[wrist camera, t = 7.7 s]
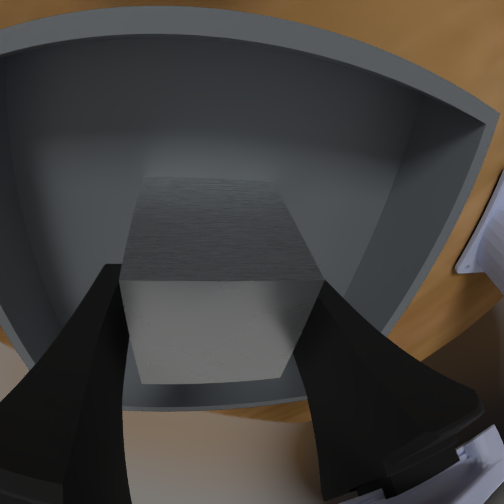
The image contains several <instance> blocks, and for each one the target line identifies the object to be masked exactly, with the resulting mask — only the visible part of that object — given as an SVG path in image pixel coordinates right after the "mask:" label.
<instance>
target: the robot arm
mask: <svg viewBox="0 0 504 504" xmlns="http://www.w3.org/2000/svg"><path fill="white" fill-rule="evenodd" d="M121 267H122V264H105V265H104V266H103V268H102V269H101V271H100V273H99V274H98V276H97V277H96V279H95V281H94V282H93V284H92V285H91V287H90V289H89V290H88V292H87V293H86V295H85V296H84V298H83V299H82V301H81V302H80V304H79V305H78V307H77V309H76V310H75V312H74V313H73V315H72V316H71V317H70V319H69V320H68V322H67V323H66V324H65V326H64V327H63V329H62V330H61V332H60V333H59V334H58V336H57V337H56V339H55V340H54V341H53V343H52V344H51V345H50V346H49V348H48V349H47V350H46V352H45V353H44V354H43V355H42V357H41V358H40V359H39V360H38V362H37V363H36V364H35V365H34V366H33V367H32V369H31V370H30V371H29V372H28V373H27V375H26V376H25V377H24V378H23V379H22V380H21V381H20V382H19V383H18V385H17V386H16V387H15V388H14V389H13V390H12V391H11V392H10V393H9V394H8V395H7V396H6V397H5V398H4V399H3V400H2V401H1V402H0V504H132V502H131V497H130V491H129V485H128V478H127V471H126V462H125V452H124V442H123V441H124V440H123V421H122V397H123V385H124V376H125V368H126V360H127V352H128V344H129V337H130V335H129V331H128V326H127V321H126V316H125V311H124V306H123V301H122V295H121V290H120V284H119V277H120V272H121ZM455 271H456V272H457V273H458V274H462V273H479V272H485V273H486V274H487V276H488V277H489V278H490V279H491V280H492V282H493V283H494V284H495V285H496V287H497V288H498V289H499V290H500V292H501V293H502V294H503V296H504V170H503V172H502V174H501V177H500V179H499V181H498V184H497V186H496V188H495V190H494V193H493V195H492V197H491V199H490V201H489V204H488V206H487V208H486V210H485V212H484V214H483V216H482V218H481V220H480V222H479V224H478V226H477V228H476V230H475V232H474V233H473V235H472V237H471V239H470V241H469V243H468V244H467V246H466V248H465V250H464V252H463V253H462V255H461V257H460V258H459V260H458V262H457V264H456V265H455ZM292 353H293V355H294V358H295V361H296V364H297V367H298V370H299V373H300V376H301V379H302V381H303V384H304V388H305V391H306V395H307V399H308V403H309V408H310V413H311V417H312V423H313V428H314V433H315V439H316V446H317V453H318V460H319V470H320V481H321V493H322V496H323V500H324V501H328V500H331V499H334V498H338V497H341V496H344V495H346V494H350V493H353V492H355V491H357V492H358V495H359V497H357V498H354V499H351V500H348V501H345V502H342V503H339V504H484V502H485V501H486V500H487V499H488V498H489V496H490V495H491V494H492V493H493V492H494V491H495V490H496V488H498V487H499V485H500V484H501V483H502V482H503V481H504V445H503V442H502V441H501V438H500V436H499V433H498V431H497V429H496V427H495V425H492V426H490V427H489V428H487V429H486V430H485V431H483V432H482V433H480V434H479V435H477V436H476V437H474V438H473V439H471V440H470V441H468V442H467V443H465V444H463V445H461V446H460V447H458V448H456V449H455V447H454V445H453V444H455V443H457V441H458V439H457V437H456V435H455V434H456V433H457V432H459V431H460V430H462V429H463V428H465V427H466V426H467V425H469V424H470V423H471V422H473V421H474V420H476V419H477V418H478V417H479V416H481V415H482V414H483V413H484V407H483V406H482V403H481V401H480V399H479V397H478V395H477V393H476V392H475V390H473V389H471V388H469V387H467V386H464V385H462V384H460V383H458V382H456V381H453V380H451V379H449V378H447V377H445V376H444V375H442V374H440V373H438V372H436V371H435V370H433V369H431V368H429V367H428V366H426V365H424V364H423V363H421V362H420V361H418V360H417V359H415V358H414V357H412V356H411V355H409V354H408V353H406V352H405V351H404V350H402V349H401V348H399V347H398V346H397V345H396V344H394V343H393V342H392V341H390V340H389V339H388V338H387V337H385V336H384V335H383V334H382V333H380V332H379V331H378V330H377V329H376V328H375V327H374V326H372V325H371V324H370V323H369V322H368V321H367V320H366V319H365V318H364V317H362V316H361V315H360V314H359V313H358V312H357V311H356V310H355V309H354V308H353V307H352V306H351V305H350V304H349V303H348V302H347V301H346V300H345V299H344V298H343V297H342V296H341V295H340V294H339V293H338V292H337V291H336V290H335V289H334V288H333V287H332V286H331V285H330V284H329V283H328V282H327V281H326V280H325V279H324V283H323V285H322V287H321V290H320V292H319V295H318V297H317V299H316V301H315V304H314V306H313V308H312V311H311V313H310V315H309V317H308V320H307V322H306V324H305V326H304V328H303V331H302V333H301V335H300V337H299V339H298V342H297V344H296V346H295V348H294V350H293V352H292Z"/></svg>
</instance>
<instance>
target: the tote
mask: <svg viewBox="0 0 504 504" xmlns="http://www.w3.org/2000/svg"><path fill="white" fill-rule="evenodd" d="M499 115H500V113H498V112H497V111H496V110H494V109H493V108H491V107H490V106H488V105H487V104H485V103H484V102H482V101H481V100H479V99H478V98H476V97H474V96H473V95H471V94H470V93H468V92H466V91H465V90H463V89H461V88H459V87H458V86H456V85H454V84H453V83H451V82H449V81H447V80H445V79H444V78H442V77H440V76H438V75H436V74H434V73H432V72H430V71H428V70H426V69H424V68H422V67H420V66H418V65H416V64H414V63H412V62H410V61H407V60H405V59H403V58H401V57H399V56H396V55H394V54H392V53H389V52H387V51H384V50H382V49H379V48H377V47H374V46H372V45H369V44H366V43H364V42H361V41H358V40H355V39H352V38H349V37H346V36H343V35H340V34H337V33H334V32H330V31H327V30H324V29H320V28H317V27H313V26H309V25H305V24H301V23H297V22H293V21H289V20H284V19H279V18H274V17H269V16H264V15H258V14H252V13H246V12H239V11H232V10H223V9H214V8H202V7H186V6H131V7H115V8H104V9H95V10H87V11H79V12H73V13H67V14H61V15H56V16H51V17H46V18H41V19H37V20H33V21H29V22H25V23H21V24H18V25H14V26H11V27H7V28H4V29H1V30H0V325H1V327H2V329H3V330H4V332H5V334H6V335H7V337H8V339H9V340H10V342H11V343H12V345H13V347H14V348H15V350H16V351H17V353H18V354H19V356H20V357H21V359H22V360H23V362H24V363H25V364H26V366H27V367H28V369H29V370H31V369H32V367H33V366H34V365H35V364H36V363H37V362H38V360H39V359H40V358H41V357H42V355H43V354H44V353H45V352H46V350H47V349H48V348H49V346H50V345H51V344H52V343H53V341H54V340H55V339H56V337H57V336H58V334H59V333H60V332H61V330H62V329H63V327H64V326H65V324H66V323H67V322H68V320H69V319H70V317H71V316H72V315H73V313H74V312H75V310H76V309H77V307H78V305H79V304H80V302H81V301H82V299H83V298H84V296H85V295H86V293H87V292H88V290H89V289H90V287H91V285H92V284H93V282H94V281H95V279H96V277H97V276H98V274H99V273H100V271H101V269H102V268H103V266H104V265H105V264H122V262H123V257H124V252H125V247H126V243H127V238H128V234H129V230H130V225H131V221H132V217H133V213H134V209H135V205H136V202H137V198H138V194H139V190H140V187H141V183H142V180H143V176H159V177H194V178H216V179H234V180H249V181H263V182H273V183H274V185H275V187H276V188H277V190H278V192H279V194H280V196H281V198H282V199H283V201H284V203H285V205H286V207H287V209H288V210H289V212H290V214H291V216H292V218H293V220H294V222H295V223H296V225H297V227H298V229H299V231H300V233H301V235H302V237H303V239H304V240H305V242H306V244H307V246H308V248H309V250H310V252H311V254H312V256H313V258H314V260H315V262H316V264H317V266H318V268H319V270H320V272H321V274H322V276H323V278H324V279H325V280H326V281H327V282H328V283H329V284H330V285H331V286H332V287H333V288H334V289H335V290H336V291H337V292H338V293H339V294H340V295H341V296H342V297H343V298H344V299H345V300H346V301H347V302H348V303H349V304H350V305H351V306H352V307H353V308H354V309H355V310H356V311H357V312H358V313H359V314H360V315H361V316H362V317H364V318H365V319H366V320H367V321H368V322H369V323H370V324H371V325H372V326H374V327H375V328H376V329H377V330H378V331H379V332H380V333H382V334H383V335H384V336H385V337H387V336H388V334H389V333H390V332H391V330H392V329H393V327H394V326H395V324H396V323H397V322H398V320H399V319H400V317H401V316H402V314H403V313H404V311H405V310H406V308H407V307H408V305H409V304H410V302H411V301H412V299H413V298H414V296H415V294H416V293H417V291H418V290H419V288H420V286H421V285H422V283H423V282H424V280H425V278H426V277H427V275H428V273H429V272H430V270H431V268H432V266H433V265H434V263H435V261H436V259H437V258H438V256H439V254H440V252H441V250H442V249H443V247H444V245H445V243H446V241H447V239H448V237H449V236H450V234H451V232H452V230H453V228H454V226H455V224H456V222H457V220H458V218H459V216H460V214H461V212H462V210H463V207H464V205H465V203H466V201H467V199H468V197H469V194H470V192H471V190H472V188H473V185H474V183H475V181H476V178H477V176H478V174H479V171H480V169H481V166H482V164H483V161H484V158H485V156H486V153H487V150H488V148H489V145H490V142H491V139H492V136H493V134H494V131H495V128H496V124H497V121H498V118H499ZM302 400H308V399H307V395H306V391H305V388H304V384H303V381H302V379H301V376H300V373H299V370H298V367H297V364H296V361H295V358H294V355H293V353H292V354H291V356H290V358H289V361H288V363H287V365H286V367H285V369H284V371H283V373H282V375H281V377H280V378H273V379H263V380H252V381H240V382H224V383H203V384H142V383H141V379H140V376H139V372H138V368H137V364H136V360H135V356H134V352H133V348H132V344H131V340H130V337H129V344H128V352H127V360H126V368H125V376H124V385H123V397H122V410H124V411H158V412H164V411H165V412H166V411H167V412H171V411H207V410H223V409H237V408H248V407H257V406H266V405H274V404H282V403H289V402H296V401H302Z"/></svg>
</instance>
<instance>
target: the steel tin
mask: <svg viewBox="0 0 504 504" xmlns="http://www.w3.org/2000/svg"><path fill="white" fill-rule="evenodd" d="M323 283H324V278H323V276H322V274H321V272H320V270H319V268H318V266H317V264H316V262H315V260H314V258H313V256H312V254H311V252H310V250H309V248H308V246H307V244H306V242H305V240H304V239H303V237H302V235H301V233H300V231H299V229H298V227H297V225H296V223H295V222H294V220H293V218H292V216H291V214H290V212H289V210H288V209H287V207H286V205H285V203H284V201H283V199H282V198H281V196H280V194H279V192H278V190H277V188H276V187H275V185H274V183H273V182H263V181H249V180H234V179H216V178H194V177H159V176H143V180H142V183H141V187H140V190H139V194H138V198H137V202H136V205H135V209H134V213H133V217H132V221H131V225H130V230H129V234H128V238H127V243H126V247H125V252H124V257H123V262H122V267H121V272H120V277H119V284H120V290H121V295H122V301H123V306H124V311H125V316H126V321H127V326H128V331H129V335H130V340H131V344H132V348H133V352H134V356H135V360H136V364H137V368H138V372H139V376H140V379H141V383H142V384H203V383H224V382H240V381H252V380H263V379H273V378H280V377H281V375H282V373H283V371H284V369H285V367H286V365H287V363H288V361H289V358H290V356H291V354H292V352H293V350H294V348H295V346H296V344H297V342H298V339H299V337H300V335H301V333H302V331H303V328H304V326H305V324H306V322H307V320H308V317H309V315H310V313H311V311H312V308H313V306H314V304H315V301H316V299H317V297H318V295H319V292H320V290H321V287H322V285H323Z"/></svg>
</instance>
